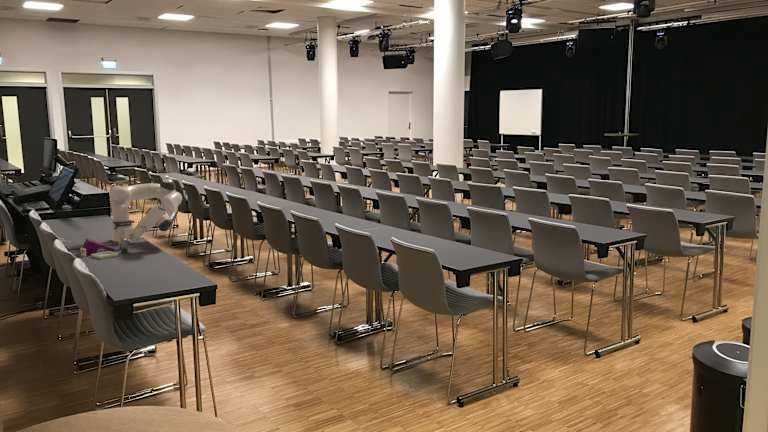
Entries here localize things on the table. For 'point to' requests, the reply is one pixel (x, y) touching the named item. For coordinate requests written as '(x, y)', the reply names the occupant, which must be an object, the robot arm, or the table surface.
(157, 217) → the robot arm
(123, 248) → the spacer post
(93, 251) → the mounting bracket
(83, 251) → the label tile
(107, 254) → the parts tray
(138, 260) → the table surface
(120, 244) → the gold metallic cylinder
